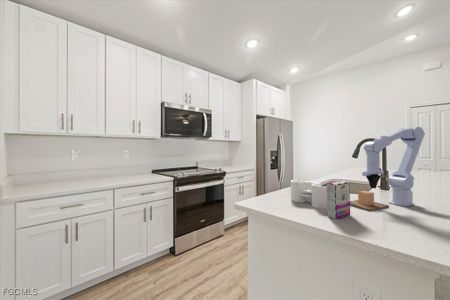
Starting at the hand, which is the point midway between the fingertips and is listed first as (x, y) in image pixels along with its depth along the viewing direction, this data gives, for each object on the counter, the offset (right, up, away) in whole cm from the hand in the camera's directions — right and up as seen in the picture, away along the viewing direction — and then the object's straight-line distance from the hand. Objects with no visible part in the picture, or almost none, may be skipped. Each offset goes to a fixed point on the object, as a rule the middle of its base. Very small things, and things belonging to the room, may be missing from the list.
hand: (373, 187), depth 112 cm
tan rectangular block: (-3, -9, +1) cm, 10 cm away
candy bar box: (-27, -11, -14) cm, 33 cm away
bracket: (-32, -11, +7) cm, 35 cm away
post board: (-3, -10, +1) cm, 11 cm away
